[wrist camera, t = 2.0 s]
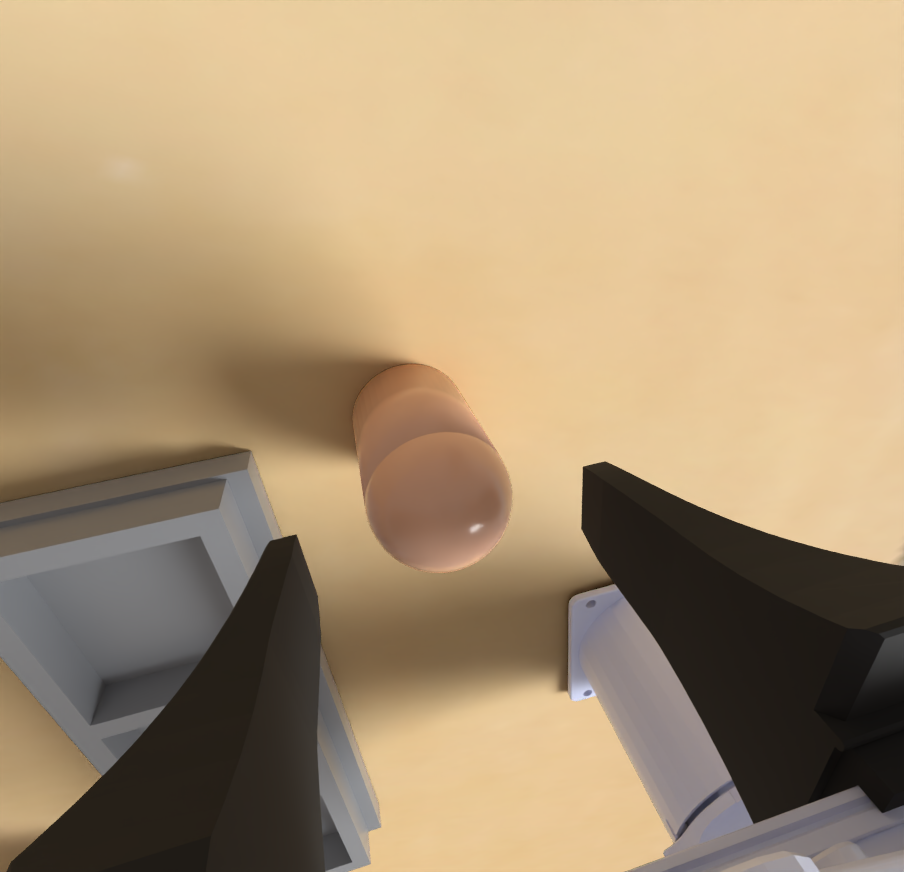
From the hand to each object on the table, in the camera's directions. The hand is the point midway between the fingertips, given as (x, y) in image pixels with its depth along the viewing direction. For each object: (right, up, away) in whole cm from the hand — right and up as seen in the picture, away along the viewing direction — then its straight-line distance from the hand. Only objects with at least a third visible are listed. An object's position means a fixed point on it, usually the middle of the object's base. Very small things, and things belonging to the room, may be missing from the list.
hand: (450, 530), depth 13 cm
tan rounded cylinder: (-1, +3, +6) cm, 7 cm away
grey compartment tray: (-10, -9, +10) cm, 17 cm away
